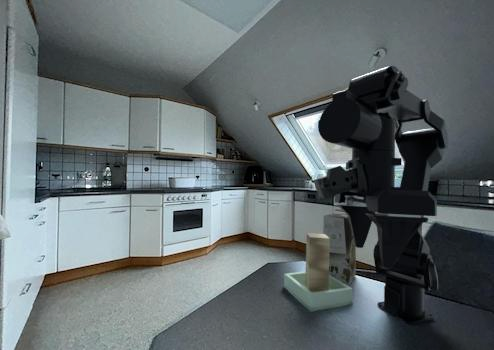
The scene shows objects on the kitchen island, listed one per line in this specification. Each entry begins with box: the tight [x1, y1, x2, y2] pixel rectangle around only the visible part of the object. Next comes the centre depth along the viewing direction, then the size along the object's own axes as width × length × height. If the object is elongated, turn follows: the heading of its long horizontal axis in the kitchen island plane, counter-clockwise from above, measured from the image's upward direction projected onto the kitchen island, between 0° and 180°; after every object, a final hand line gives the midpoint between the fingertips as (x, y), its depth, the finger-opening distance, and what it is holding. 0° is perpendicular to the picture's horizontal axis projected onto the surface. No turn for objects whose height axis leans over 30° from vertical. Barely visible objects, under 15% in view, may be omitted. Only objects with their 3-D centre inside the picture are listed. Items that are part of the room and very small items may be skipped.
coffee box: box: [322, 212, 357, 287], centre depth 57 cm, size 9×6×16 cm
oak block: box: [305, 232, 330, 292], centre depth 47 cm, size 4×4×12 cm
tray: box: [283, 270, 354, 312], centre depth 47 cm, size 10×10×3 cm
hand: (371, 255), depth 33 cm, fingers open, 9 cm apart
